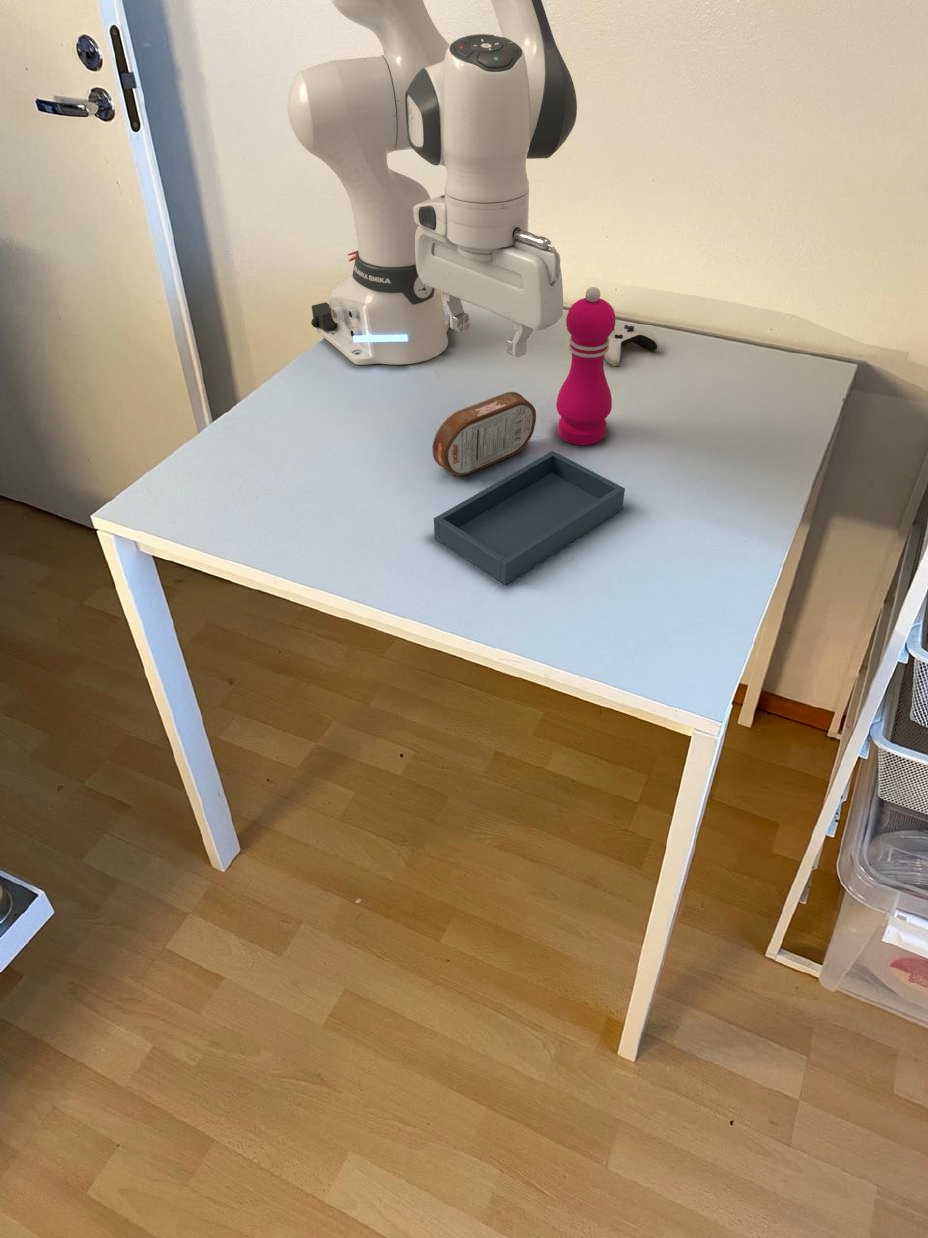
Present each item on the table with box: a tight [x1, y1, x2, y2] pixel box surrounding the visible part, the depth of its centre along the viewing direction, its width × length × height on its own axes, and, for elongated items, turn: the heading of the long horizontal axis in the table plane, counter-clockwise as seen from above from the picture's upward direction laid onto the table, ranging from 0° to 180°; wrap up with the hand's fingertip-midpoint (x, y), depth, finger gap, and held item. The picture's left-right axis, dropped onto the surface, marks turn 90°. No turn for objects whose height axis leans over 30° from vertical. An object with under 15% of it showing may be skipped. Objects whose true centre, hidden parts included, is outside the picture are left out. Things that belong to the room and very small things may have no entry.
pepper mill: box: [555, 286, 617, 446], centre depth 116 cm, size 7×7×20 cm
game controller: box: [604, 324, 659, 367], centre depth 139 cm, size 10×5×6 cm
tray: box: [433, 450, 626, 586], centre depth 107 cm, size 12×20×3 cm, turn 133°
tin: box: [431, 391, 537, 477], centre depth 115 cm, size 15×3×8 cm, turn 127°
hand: (487, 341), depth 106 cm, fingers open, 8 cm apart
